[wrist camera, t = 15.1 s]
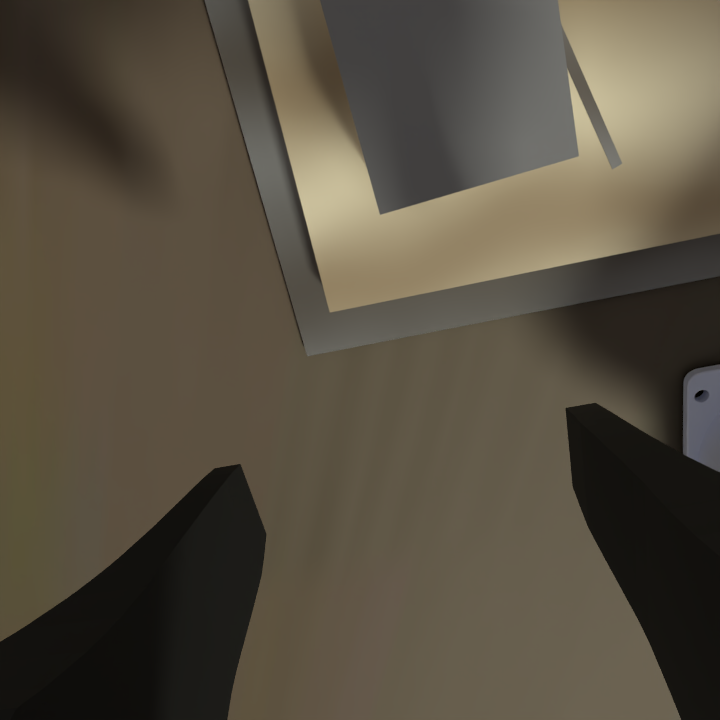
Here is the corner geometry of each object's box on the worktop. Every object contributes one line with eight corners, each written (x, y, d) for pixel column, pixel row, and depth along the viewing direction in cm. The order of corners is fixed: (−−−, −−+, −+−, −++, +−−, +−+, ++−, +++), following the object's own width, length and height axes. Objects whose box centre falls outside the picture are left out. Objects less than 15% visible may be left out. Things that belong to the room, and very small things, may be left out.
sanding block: (530, 141, 17) (579, 156, 12) (380, 186, 17) (380, 215, 13) (472, -208, 13) (511, -341, 9) (292, -136, 14) (255, -231, 10)
